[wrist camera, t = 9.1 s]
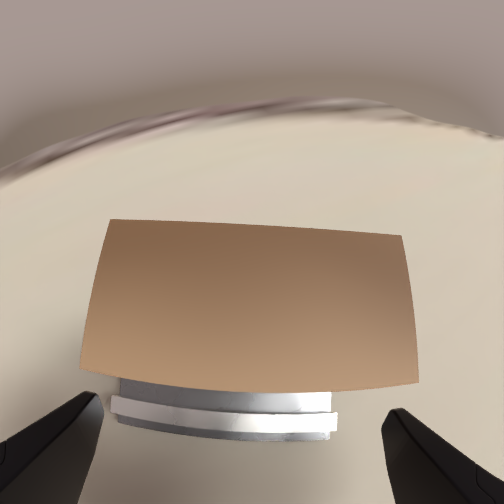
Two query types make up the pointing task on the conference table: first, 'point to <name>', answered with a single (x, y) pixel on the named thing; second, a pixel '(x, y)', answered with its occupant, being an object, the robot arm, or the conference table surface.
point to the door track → (225, 412)
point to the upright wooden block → (251, 308)
